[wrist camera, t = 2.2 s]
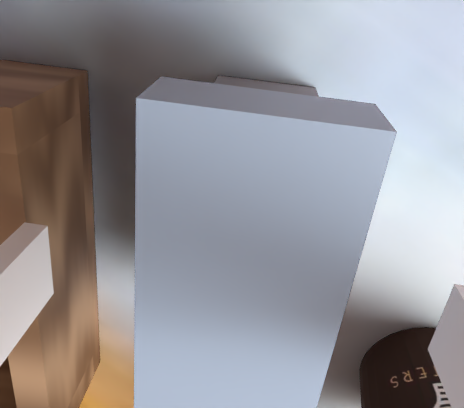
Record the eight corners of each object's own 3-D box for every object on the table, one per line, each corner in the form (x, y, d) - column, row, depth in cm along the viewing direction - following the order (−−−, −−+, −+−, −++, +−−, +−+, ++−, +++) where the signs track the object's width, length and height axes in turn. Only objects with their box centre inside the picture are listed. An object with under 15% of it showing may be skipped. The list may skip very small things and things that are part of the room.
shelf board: (161, 76, 12) (136, 97, 10) (374, 103, 12) (396, 131, 10) (151, 376, 18) (133, 432, 16) (298, 398, 18) (301, 458, 16)
